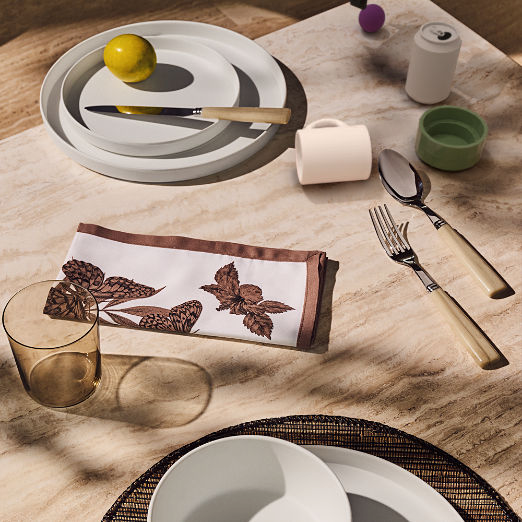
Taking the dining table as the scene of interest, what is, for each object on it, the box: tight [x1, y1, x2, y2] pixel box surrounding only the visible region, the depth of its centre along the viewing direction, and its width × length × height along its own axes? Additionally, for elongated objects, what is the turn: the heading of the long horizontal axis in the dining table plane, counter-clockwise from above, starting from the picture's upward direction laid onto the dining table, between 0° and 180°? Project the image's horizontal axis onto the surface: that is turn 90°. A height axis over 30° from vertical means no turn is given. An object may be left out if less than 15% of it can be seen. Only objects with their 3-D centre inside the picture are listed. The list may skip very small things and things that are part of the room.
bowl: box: [413, 104, 489, 172], centre depth 104 cm, size 10×10×5 cm
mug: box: [294, 117, 373, 186], centre depth 101 cm, size 12×10×8 cm
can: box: [404, 20, 463, 105], centre depth 112 cm, size 8×8×12 cm
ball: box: [357, 3, 386, 33], centre depth 127 cm, size 5×5×5 cm
